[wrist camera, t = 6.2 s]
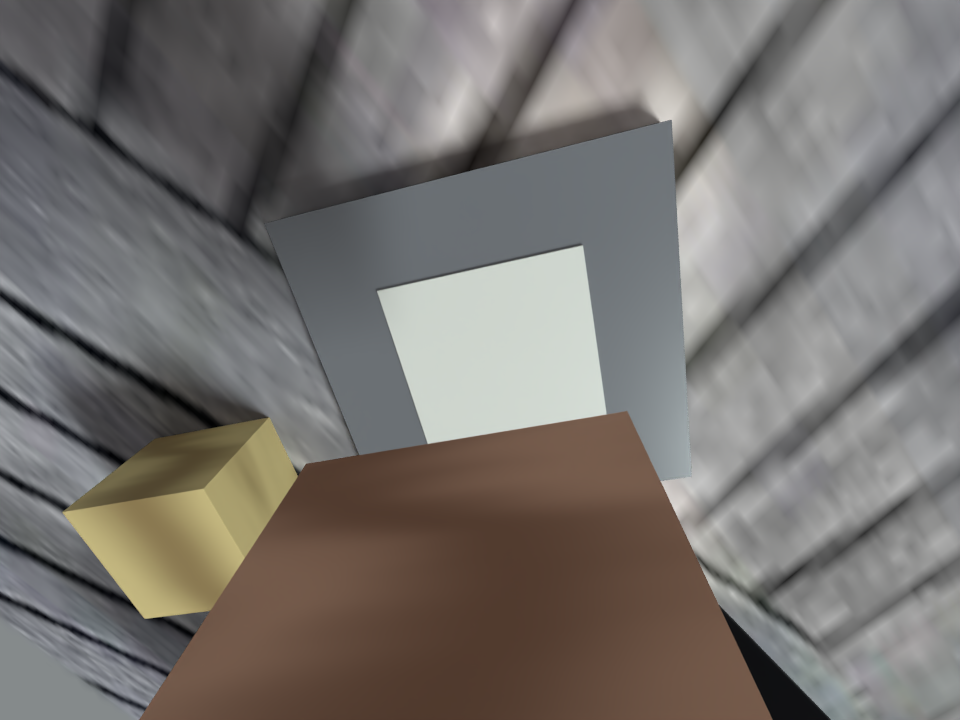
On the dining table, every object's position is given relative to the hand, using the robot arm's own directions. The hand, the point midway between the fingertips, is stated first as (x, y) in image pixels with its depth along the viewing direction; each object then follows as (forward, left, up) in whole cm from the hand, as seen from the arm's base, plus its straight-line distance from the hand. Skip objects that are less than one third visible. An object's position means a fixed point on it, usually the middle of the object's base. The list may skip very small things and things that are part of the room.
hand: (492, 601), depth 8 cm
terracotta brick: (0, 0, -1) cm, 1 cm away
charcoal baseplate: (0, 0, -11) cm, 11 cm away
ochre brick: (-14, -4, -11) cm, 18 cm away
